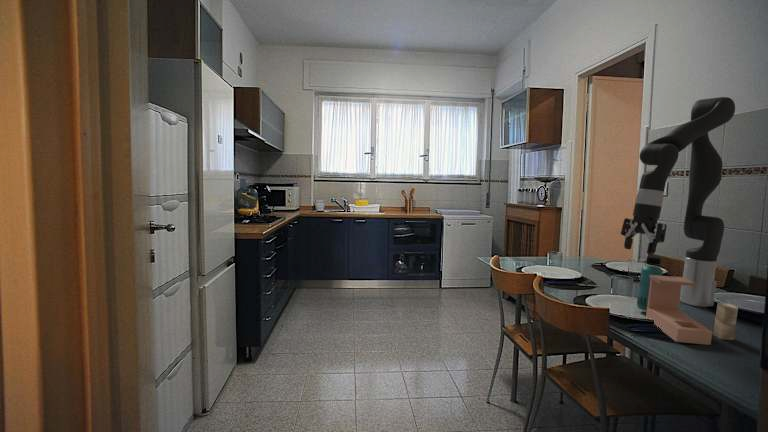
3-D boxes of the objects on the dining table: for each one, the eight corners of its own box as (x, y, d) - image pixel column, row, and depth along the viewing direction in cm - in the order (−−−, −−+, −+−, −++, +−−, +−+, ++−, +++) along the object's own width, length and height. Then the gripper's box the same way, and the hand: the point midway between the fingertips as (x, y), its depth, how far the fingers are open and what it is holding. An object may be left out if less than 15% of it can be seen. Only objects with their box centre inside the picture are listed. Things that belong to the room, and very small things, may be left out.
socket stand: (676, 321, 132) (682, 277, 130) (712, 345, 114) (719, 294, 112) (644, 318, 134) (649, 274, 132) (674, 341, 116) (681, 291, 114)
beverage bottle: (654, 310, 141) (661, 255, 138) (660, 317, 135) (668, 259, 132) (633, 308, 143) (640, 253, 140) (638, 314, 137) (645, 257, 134)
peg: (725, 335, 122) (730, 303, 120) (733, 340, 118) (738, 307, 117) (712, 334, 122) (717, 302, 121) (720, 339, 119) (725, 306, 118)
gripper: (677, 207, 127) (666, 257, 128) (638, 203, 141) (628, 248, 142) (660, 204, 125) (649, 254, 126) (621, 200, 138) (612, 246, 140)
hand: (638, 251), depth 134 cm, fingers open, 8 cm apart
